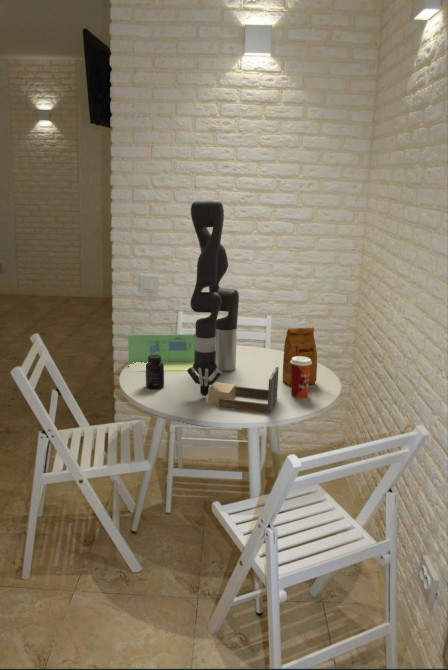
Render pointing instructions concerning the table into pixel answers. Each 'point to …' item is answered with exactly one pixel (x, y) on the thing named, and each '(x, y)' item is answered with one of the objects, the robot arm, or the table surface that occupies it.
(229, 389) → the carton
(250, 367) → the table surface
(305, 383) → the paper cup
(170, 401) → the table surface
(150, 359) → the supplement bottle
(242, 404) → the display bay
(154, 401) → the table surface
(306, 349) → the coffee package
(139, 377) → the table surface
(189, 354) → the display stand
